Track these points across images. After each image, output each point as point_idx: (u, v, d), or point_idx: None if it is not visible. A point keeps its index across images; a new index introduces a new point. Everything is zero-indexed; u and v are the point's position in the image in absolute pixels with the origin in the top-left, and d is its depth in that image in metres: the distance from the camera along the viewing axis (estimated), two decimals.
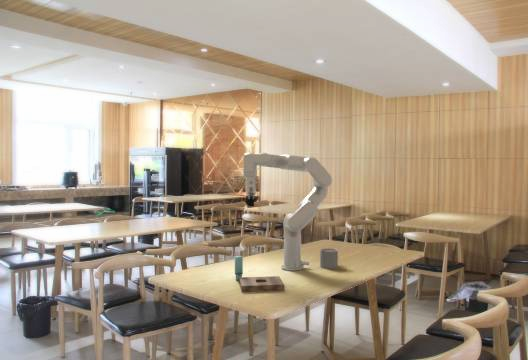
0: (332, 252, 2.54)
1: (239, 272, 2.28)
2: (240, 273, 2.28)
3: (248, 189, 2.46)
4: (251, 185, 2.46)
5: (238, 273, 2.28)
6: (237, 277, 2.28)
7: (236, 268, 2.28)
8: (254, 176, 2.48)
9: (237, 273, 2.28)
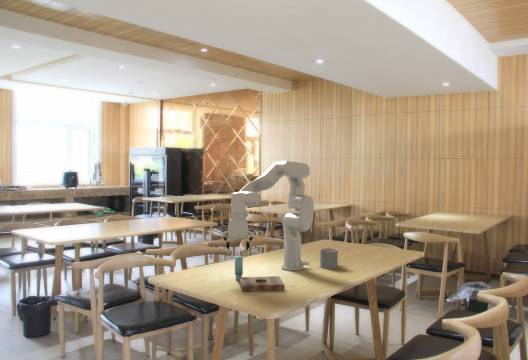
0: (332, 252, 2.54)
1: (239, 272, 2.28)
2: (240, 273, 2.28)
3: (247, 231, 2.28)
4: None
5: (238, 273, 2.28)
6: (237, 277, 2.28)
7: (236, 268, 2.28)
8: None
9: (237, 273, 2.28)
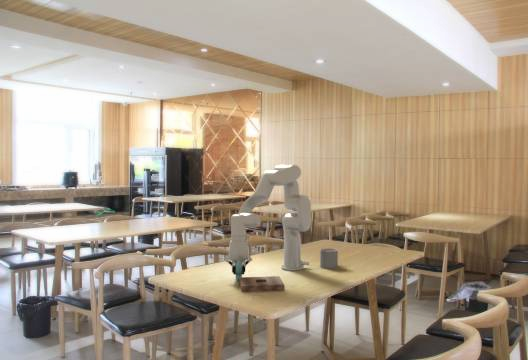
0: (332, 252, 2.54)
1: (239, 272, 2.28)
2: (240, 273, 2.28)
3: (248, 253, 2.29)
4: None
5: (238, 273, 2.28)
6: (237, 277, 2.28)
7: (236, 268, 2.28)
8: None
9: (237, 273, 2.28)
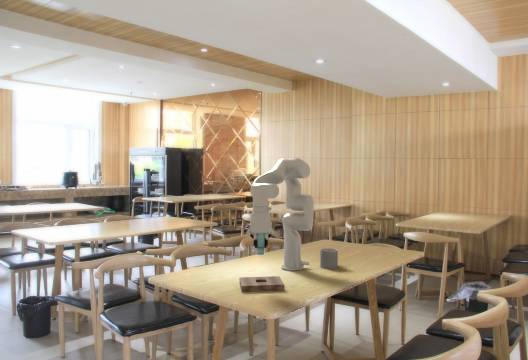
0: (332, 252, 2.54)
1: (261, 246, 2.14)
2: (262, 247, 2.14)
3: None
4: None
5: (260, 247, 2.14)
6: (259, 251, 2.14)
7: (258, 241, 2.14)
8: None
9: (259, 247, 2.14)
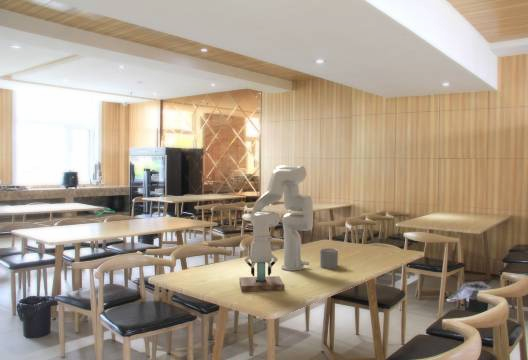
0: (332, 252, 2.54)
1: (262, 279, 2.14)
2: (263, 280, 2.14)
3: None
4: None
5: (261, 280, 2.14)
6: None
7: (259, 274, 2.14)
8: None
9: (260, 280, 2.14)
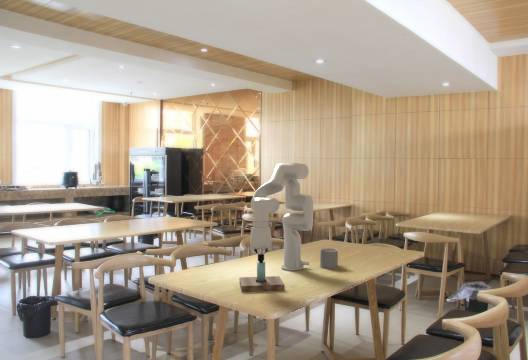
0: (332, 252, 2.54)
1: (262, 279, 2.14)
2: (263, 280, 2.14)
3: (271, 241, 2.14)
4: None
5: (261, 280, 2.14)
6: None
7: (258, 275, 2.14)
8: None
9: (260, 280, 2.14)
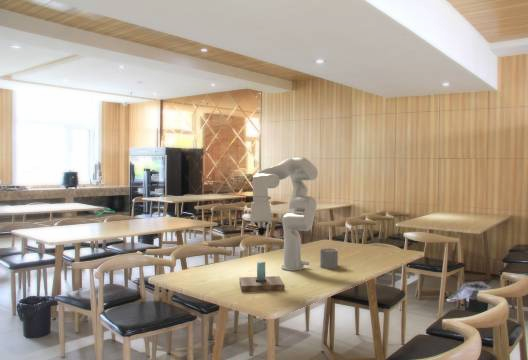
0: (332, 252, 2.54)
1: (262, 279, 2.14)
2: (263, 280, 2.14)
3: (270, 214, 2.26)
4: None
5: (261, 280, 2.14)
6: None
7: (258, 274, 2.14)
8: None
9: (260, 280, 2.14)
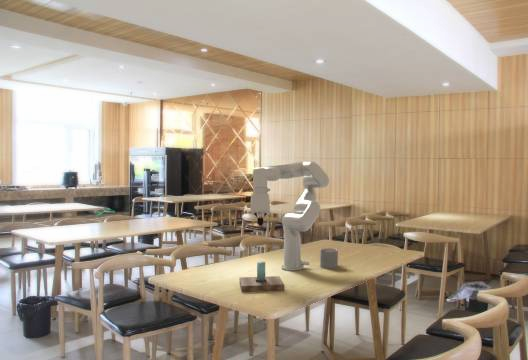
0: (332, 252, 2.54)
1: (262, 279, 2.14)
2: (263, 280, 2.14)
3: (269, 205, 2.36)
4: (269, 201, 2.38)
5: (261, 280, 2.14)
6: None
7: (258, 274, 2.14)
8: None
9: (260, 280, 2.14)
